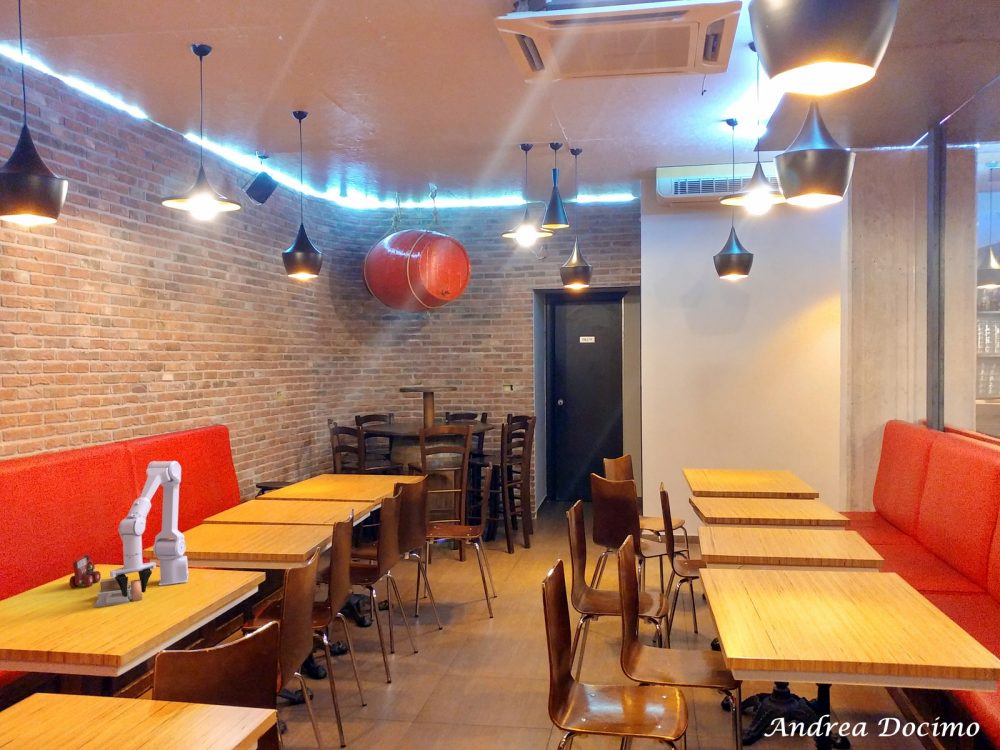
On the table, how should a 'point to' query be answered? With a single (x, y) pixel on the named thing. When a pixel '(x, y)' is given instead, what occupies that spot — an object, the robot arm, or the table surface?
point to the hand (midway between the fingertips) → (134, 594)
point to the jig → (112, 598)
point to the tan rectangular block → (110, 585)
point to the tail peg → (136, 590)
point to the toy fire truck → (84, 572)
